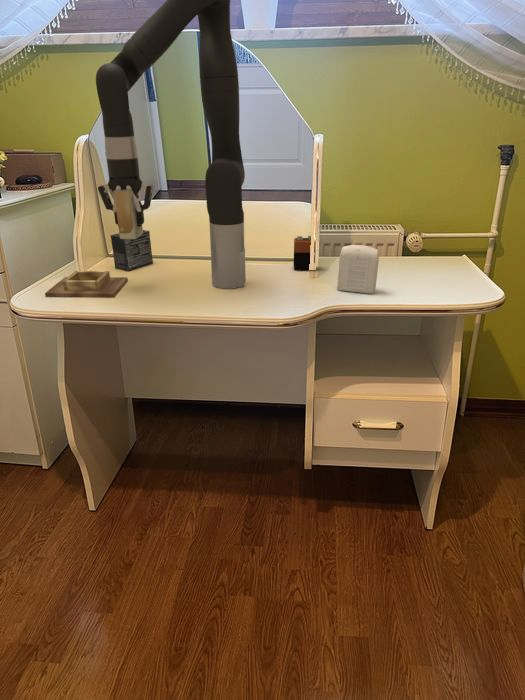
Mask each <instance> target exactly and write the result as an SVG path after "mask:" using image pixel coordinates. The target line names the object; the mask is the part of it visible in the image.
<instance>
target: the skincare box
mask: <svg viewBox="0 0 525 700" xmlns="http://www.w3.org/2000/svg"><path fill="white" fill-rule="evenodd" d="M138 195H139V193H138ZM113 196H114V197H115V205H116V212H117V219H118V224H117V227H118V226H119V227H118V233H119V234H120V239H136V238H138V237H139V236H141V235H142V234H143V230H144V229H143V225H142V226H141V227H138V223H137V214H136V212H137V210H136V207H135V205H134V203H133V199H134V198H133V195H132V191H131V190H127V189H123V190H115V191H114V193H113ZM139 196H140V195H139ZM136 198H137V196H136Z"/></svg>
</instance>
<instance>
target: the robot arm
mask: <svg viewBox="0 0 525 700" xmlns="http://www.w3.org/2000/svg"><path fill="white" fill-rule="evenodd" d="M230 10H231V0H166V1H164V3H162V5H161V6H160V7H159V8H158V9H157V10H156V11H155V12H154V13H153V14H152V15H151V16H150V17H149V18H148V19H147V20H146V21H145V22H144V23H143V24H142V25H141V26H140V27H139V28H138V29H137V30H136V31H135V32H134V33H133V34H132V35H131V36H130V38H128V40H127V41H125V43H124V45H123V47H122V49H121V51H120V52H119V53H118V54H117V55H116V56H115V57H114V58H113V59H112V60H111V61H110V62H109V63H104V64H102V65H100V66H99V68H98V69H97V71H96V72H95V73H96V74H95V86H96V91H97V97H98V102H99V106H100V110H101V115H102V125H103V133H104V148H105V149H104V151H105V159H106V165H107V172H108V173H107V174H108V182H107V184H100V186H99V185H98V187H97V189H98V193H99V195H100V197H101V200H102V202H103V205H104V207H105V210H107V211H108V210H109V211H112V212H113V214H114V215H113V217H114V222H115V225H117V227H118V228H119V226H118V219H117V212H116V205H115V197H114V199H113V202H112V199H111V198H110V197H111V196H110V195H109V193H110V191H112V193H113V194H114V191H115V190H123V189H127V190H131V191H132V195H133V198H134V199H133V203H134V205H135V207H136V210H137V212H136V214H137V223H138V227H141V226H142V227H143V225H144V224H145V214H144V211H145V210H148V209H149V208H150V207H151V202H152V197H153V190H154V185H153V184H151V183H150V184H146V183H143V181H142V180H141V178H140V177H141V175H140V168H139V167H140V166H139V156H138V148H137V147H138V146H137V143H136V138H135V131H134V122H133V116H132V113H131V110H130V102H129V91H130V90H131V89H132V88H133V87H134V86H135V84H136V83H137V82H138V81H139V80H140V78H141V77H142V76H143V74H144V73H146V72H147V71H148V70H149V69H150V68H151V67H152V66H154V64H155V63H157V61H158V60H159V59H160V58H161V57H162V56H163V55H164V54H165V53H166V51H168V50H169V48H170V47H171V46H172V45H173V43H174V42H175V41H176V40H177V38H178V37H179V36H180V34H181V33H182V32H183V30H185V28H186V27H187V26H188V25H189V24H190V23H191V22H192V21H193V20H194V18H195V17H197V21H198V27H199V28H198V29H199V49H198V52H199V55H198V61H199V63H198V64H199V66H198V68H199V71H198V72H199V83H200V93H201V94H200V95H201V96H200V97H201V101H202V107H203V111H204V115H205V119H206V121H207V125H208V129H209V133H210V138H211V140H210V141H211V163H210V164H209V165H208V166H207V169H206V172H205V175H204V176H205V178H204V179H205V180H204V183H205V184H204V186H205V197H206V210H207V214H208V221H209V222H208V223H209V224H208V225H209V240H210V241H209V243H210V262H211V263H210V265H211V266H210V267H211V268H210V269H211V284H212V286H213V287H215V288H219V289H236V288H243V287H244V288H245V285H246V280H247V279H246V278H247V277H246V247H245V212H244V209H243V193H242V189H243V188H242V186H243V185H244V182H245V176H246V174H245V173H246V172H245V167H244V161H243V155H242V148H241V140H240V87H239V86H240V85H239V84H240V83H239V74H238V72H239V71H238V65H237V64H238V62H237V58H236V53H235V52H236V51H235V48H234V47H235V46H234V42H233V39H232V38H233V37H232V33H231V31H232V30H231V11H230ZM141 189H142V191H143V193H144V200H143V203H142V201H141V197H140V195H138V194H139V193H140V191H141ZM136 196H137V198H136Z"/></svg>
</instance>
